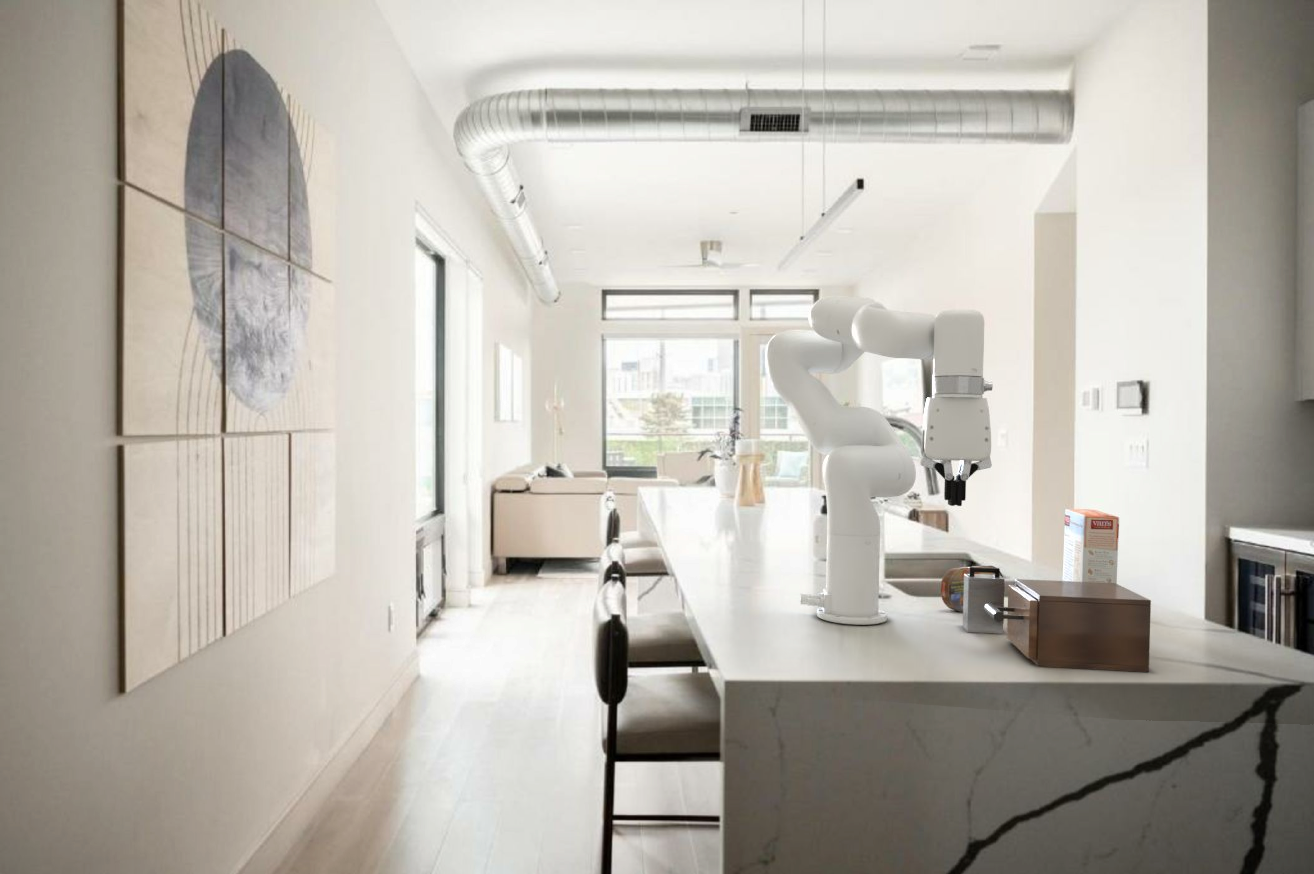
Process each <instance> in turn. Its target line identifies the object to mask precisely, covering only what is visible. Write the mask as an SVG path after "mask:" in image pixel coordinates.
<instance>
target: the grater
mask: <svg viewBox="0 0 1314 874" xmlns="http://www.w3.org/2000/svg"><path fill="white" fill-rule="evenodd" d="M968 567H969V574H964V597H963V612H962V628H963V629H964V630H965V631H966V632H967V633H976V634H977V633H978V634H979V633H980V634H996V635H999V634H1000V635H1004V620H1005V619H1004V620H1003V621H1002V622H997V621H995V620H994V619H993V618H992V617H991V616H990V615H989V614H988V613H987V612H986V611H985V610H984V606H985V605H986V604H987V603H991V604H993V605H994V606H995V607H1005V591H1004V583H1005V582H1006V581H1005V578H1004V576H1003V577H1001V576H1000V572H1001V569H1000V567H996V568H991V567H972V566H968ZM974 572H982V573H994V575H984V574H974ZM1005 584H1006V583H1005ZM1001 612H1002V613H1003V614H1005V611H1001Z"/></svg>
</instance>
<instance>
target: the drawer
mask: <svg viewBox="0 0 1314 874" xmlns="http://www.w3.org/2000/svg"><path fill="white" fill-rule="evenodd" d="M1007 589H1008V590H1007V606H1004V607H995V606H994V605H993V604H991V603H987V604H986V605H985V606H984V610H985V611H986V612H987V613H988V614H989V615H990V616H991V617H992V618H993V619H994V620H995V621H997V622H1002V621H1003V620H1006V621H1007V622H1006V625H1007V627H1006V629H1007V630H1006V639H1007V640H1008V641H1009V642H1010V643H1011V644H1012V645H1013V646H1015V648H1017V649H1018V650H1019V651H1020V652H1021V653H1022V654H1023V655H1024V656H1025V657H1026V658H1027V659H1028V660H1031V659H1037V624H1038V599H1036V598H1035V597H1034V596H1032V595H1031V594H1029V593H1028V592H1026V591H1023V590H1022V589H1020V588H1019V587H1018V586H1016V585H1015V584H1008V587H1007ZM1001 611H1004V612H1007V613H1004V614H1003V613H1002V612H1001Z"/></svg>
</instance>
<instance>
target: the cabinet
mask: <svg viewBox="0 0 1314 874" xmlns="http://www.w3.org/2000/svg"><path fill="white" fill-rule="evenodd" d="M1014 585H1016V586H1018V587H1019V588H1020V589H1022V590H1023V591H1026V592H1028V593H1029V594H1031V595H1032V596H1034V597H1035V598H1036V599H1038V624H1037V659H1030V661H1032V662H1033V663H1034V664H1035V665H1036V666H1037V667H1043V668H1063V669H1081V670H1100V671H1101V670H1102V671H1103V670H1104V671H1118V672H1119V671H1120V672H1136V673H1137V672H1139V673H1150V649H1151V648H1150V645H1151V643H1150V642H1151V641H1150V640H1151V639H1150V638H1151V610H1152V609H1151V607H1152V600H1151V599H1149V598H1147V597H1145V596H1143V595H1141V594H1139V593H1137V592H1135V591H1132V590H1130V589H1129V588H1127V587H1124V586H1122V585H1120V584H1118V583H1117V584H1116V583H1099V582H1074V581H1063V580H1051V579H1050V580H1049V579H1048V580H1047V579H1045V580H1044V579H1022V578H1015V580H1014Z"/></svg>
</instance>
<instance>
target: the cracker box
mask: <svg viewBox="0 0 1314 874" xmlns="http://www.w3.org/2000/svg"><path fill="white" fill-rule="evenodd" d="M1063 529H1064V533H1063V536H1064V537H1063V565H1062V581H1074V582H1099V583H1116V584H1118V583H1117V582H1118V560H1119V559H1118V558H1119V557H1118V556H1119V555H1118V554H1119V536H1120V535H1119V534H1120V517H1119V516H1116V515H1114V514H1109V513H1107V512H1103V511H1100V510H1096V509H1090V508H1089V509H1087V508H1066V509H1065V510H1064V528H1063Z"/></svg>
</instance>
